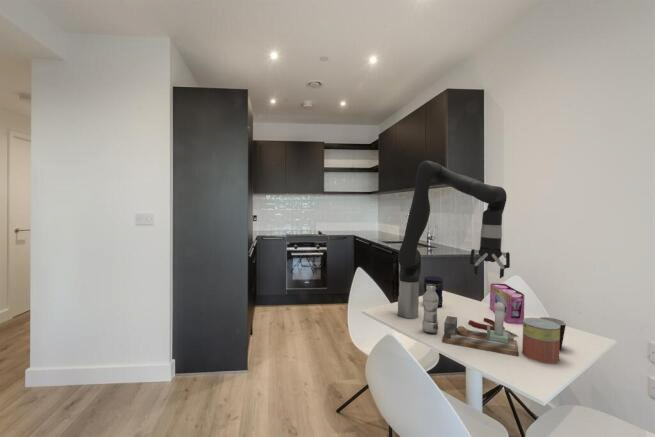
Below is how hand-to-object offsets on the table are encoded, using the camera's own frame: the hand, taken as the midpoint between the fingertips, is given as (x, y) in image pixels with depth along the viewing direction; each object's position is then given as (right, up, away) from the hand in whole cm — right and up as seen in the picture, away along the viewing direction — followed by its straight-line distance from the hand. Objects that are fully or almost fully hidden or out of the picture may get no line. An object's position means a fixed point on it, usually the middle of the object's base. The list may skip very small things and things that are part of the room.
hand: (488, 276), depth 131 cm
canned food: (+12, -26, -14) cm, 32 cm away
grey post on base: (0, -24, -6) cm, 25 cm away
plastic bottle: (-21, -25, +8) cm, 34 cm away
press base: (-5, -26, -3) cm, 26 cm away
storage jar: (-7, -24, +46) cm, 53 cm away
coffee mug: (+22, -26, -4) cm, 34 cm away
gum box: (+24, -25, +31) cm, 46 cm away
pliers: (+6, -26, +12) cm, 29 cm away
